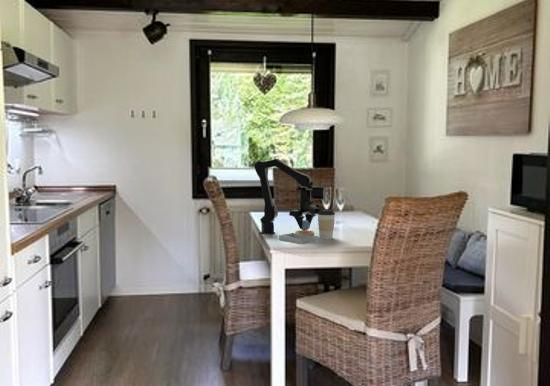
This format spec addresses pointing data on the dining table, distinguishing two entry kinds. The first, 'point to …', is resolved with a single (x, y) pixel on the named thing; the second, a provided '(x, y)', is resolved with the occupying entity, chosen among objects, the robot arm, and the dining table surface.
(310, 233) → the bowl
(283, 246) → the dining table surface
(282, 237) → the shallow serving tray
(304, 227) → the ball
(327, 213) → the coffee cup
